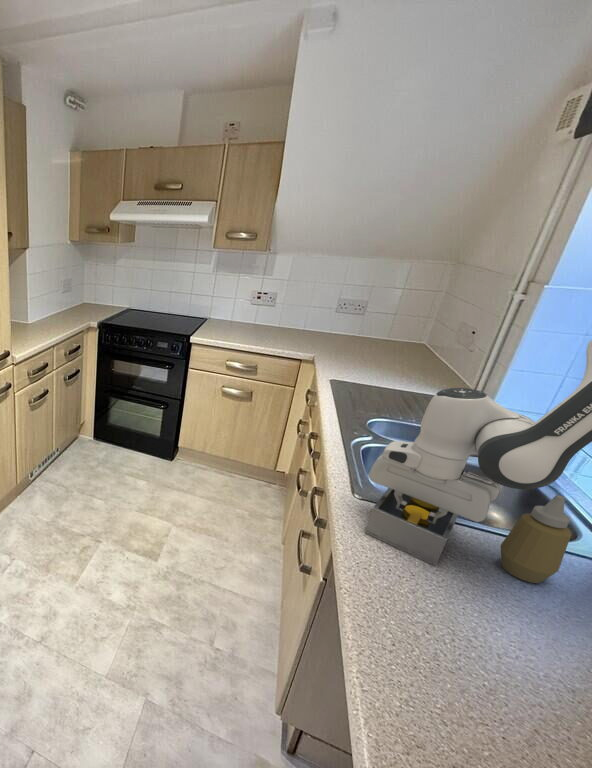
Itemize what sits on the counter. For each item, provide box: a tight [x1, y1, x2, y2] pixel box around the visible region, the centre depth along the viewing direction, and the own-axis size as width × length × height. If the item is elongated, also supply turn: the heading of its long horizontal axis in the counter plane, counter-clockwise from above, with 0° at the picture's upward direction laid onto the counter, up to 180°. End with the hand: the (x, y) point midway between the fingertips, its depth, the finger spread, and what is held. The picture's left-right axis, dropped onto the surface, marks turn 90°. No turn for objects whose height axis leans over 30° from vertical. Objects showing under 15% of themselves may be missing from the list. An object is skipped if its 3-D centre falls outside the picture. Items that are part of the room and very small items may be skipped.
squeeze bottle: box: [499, 494, 572, 584], centre depth 79 cm, size 8×8×18 cm
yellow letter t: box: [403, 505, 430, 525], centre depth 93 cm, size 5×14×2 cm, turn 131°
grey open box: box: [364, 487, 459, 567], centre depth 92 cm, size 19×13×7 cm
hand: (415, 515), depth 92 cm, fingers open, 4 cm apart
